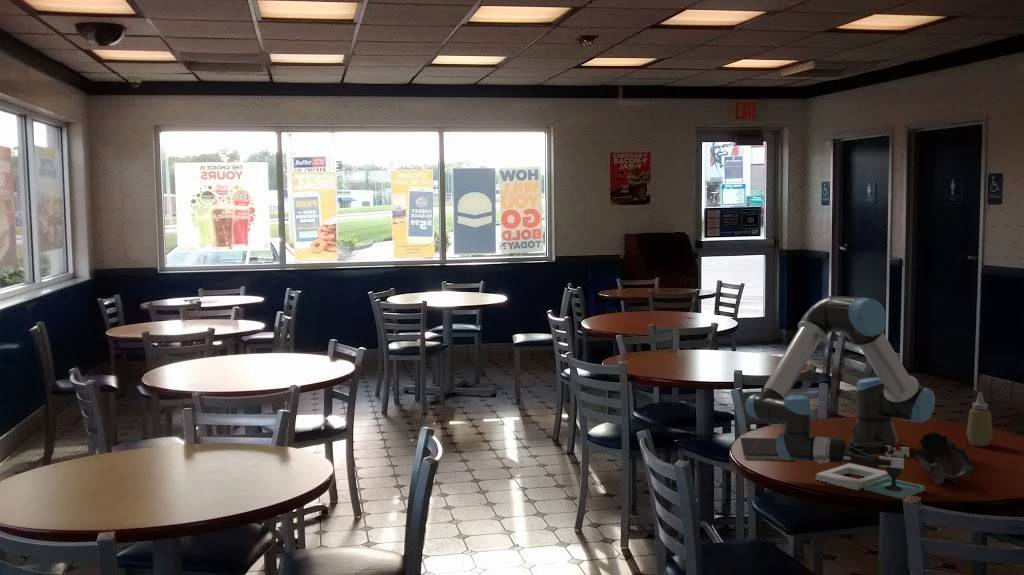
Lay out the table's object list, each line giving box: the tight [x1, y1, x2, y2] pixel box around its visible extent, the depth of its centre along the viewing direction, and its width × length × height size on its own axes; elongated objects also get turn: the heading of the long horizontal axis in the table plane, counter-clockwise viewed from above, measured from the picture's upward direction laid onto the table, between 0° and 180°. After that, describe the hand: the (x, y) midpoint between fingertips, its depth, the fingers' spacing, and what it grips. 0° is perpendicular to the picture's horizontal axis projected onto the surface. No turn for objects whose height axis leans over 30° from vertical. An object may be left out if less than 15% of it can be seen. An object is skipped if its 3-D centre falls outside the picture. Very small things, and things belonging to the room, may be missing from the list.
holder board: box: [815, 462, 892, 491], centre depth 287 cm, size 18×14×2 cm
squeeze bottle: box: [966, 392, 994, 447], centre depth 324 cm, size 8×8×18 cm
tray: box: [863, 477, 926, 500], centre depth 276 cm, size 12×12×1 cm
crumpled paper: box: [914, 431, 975, 485], centre depth 285 cm, size 14×15×20 cm
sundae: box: [881, 438, 907, 491], centre depth 274 cm, size 7×7×15 cm
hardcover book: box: [740, 437, 792, 461], centre depth 323 cm, size 16×23×2 cm
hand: (906, 457), depth 273 cm, fingers open, 13 cm apart
